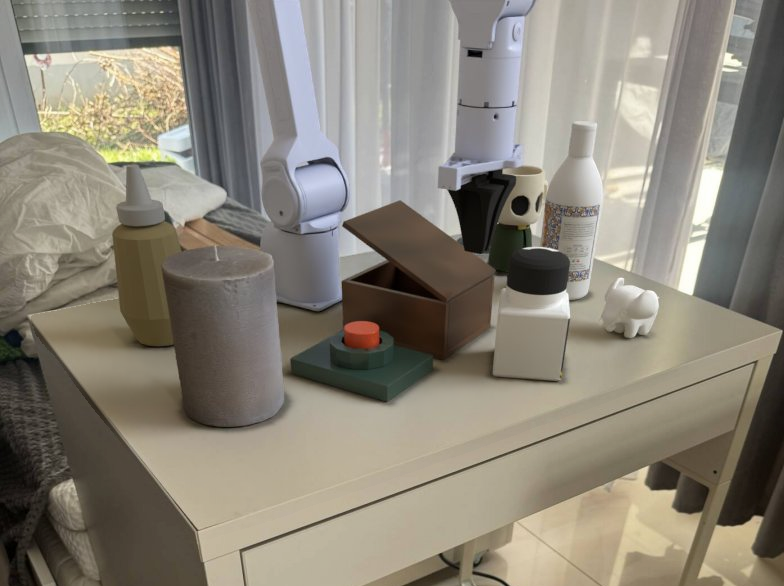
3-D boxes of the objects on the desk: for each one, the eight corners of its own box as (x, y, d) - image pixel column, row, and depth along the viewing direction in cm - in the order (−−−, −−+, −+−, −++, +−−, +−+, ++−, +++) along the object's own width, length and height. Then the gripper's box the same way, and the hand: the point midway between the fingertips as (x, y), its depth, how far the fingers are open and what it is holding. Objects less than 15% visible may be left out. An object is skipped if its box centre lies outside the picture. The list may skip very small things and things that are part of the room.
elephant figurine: (581, 329, 92) (589, 279, 88) (632, 318, 95) (642, 269, 91) (620, 350, 87) (630, 298, 83) (672, 337, 90) (684, 287, 87)
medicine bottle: (560, 382, 80) (578, 265, 73) (492, 377, 81) (502, 260, 74) (559, 355, 86) (575, 243, 78) (495, 350, 86) (505, 239, 79)
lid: (341, 226, 82) (343, 221, 82) (398, 204, 90) (400, 199, 90) (445, 303, 80) (447, 298, 80) (493, 274, 88) (496, 270, 88)
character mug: (494, 282, 105) (503, 179, 97) (463, 268, 110) (469, 168, 102) (554, 269, 110) (567, 170, 102) (522, 256, 114) (532, 160, 107)
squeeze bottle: (112, 337, 88) (74, 165, 77) (173, 319, 92) (145, 154, 82) (152, 358, 83) (117, 178, 72) (214, 337, 88) (190, 166, 77)
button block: (290, 373, 81) (288, 341, 79) (341, 345, 87) (339, 315, 85) (387, 402, 76) (387, 369, 74) (432, 370, 82) (434, 338, 80)
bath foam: (541, 281, 106) (562, 116, 94) (592, 288, 104) (619, 120, 92) (529, 297, 100) (548, 124, 88) (582, 304, 98) (609, 129, 86)
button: (337, 345, 79) (336, 329, 78) (357, 334, 81) (357, 318, 80) (366, 353, 78) (366, 336, 76) (386, 341, 80) (386, 325, 79)
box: (343, 334, 90) (341, 280, 86) (395, 305, 97) (395, 255, 94) (443, 360, 84) (446, 304, 80) (490, 327, 92) (494, 275, 88)
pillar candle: (167, 399, 76) (138, 241, 67) (256, 374, 80) (239, 224, 71) (213, 439, 69) (187, 271, 60) (305, 409, 74) (294, 249, 65)
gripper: (490, 117, 67) (478, 275, 75) (555, 99, 77) (539, 240, 85) (420, 110, 70) (416, 262, 78) (492, 93, 80) (482, 230, 88)
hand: (476, 250), depth 82 cm, fingers closed
